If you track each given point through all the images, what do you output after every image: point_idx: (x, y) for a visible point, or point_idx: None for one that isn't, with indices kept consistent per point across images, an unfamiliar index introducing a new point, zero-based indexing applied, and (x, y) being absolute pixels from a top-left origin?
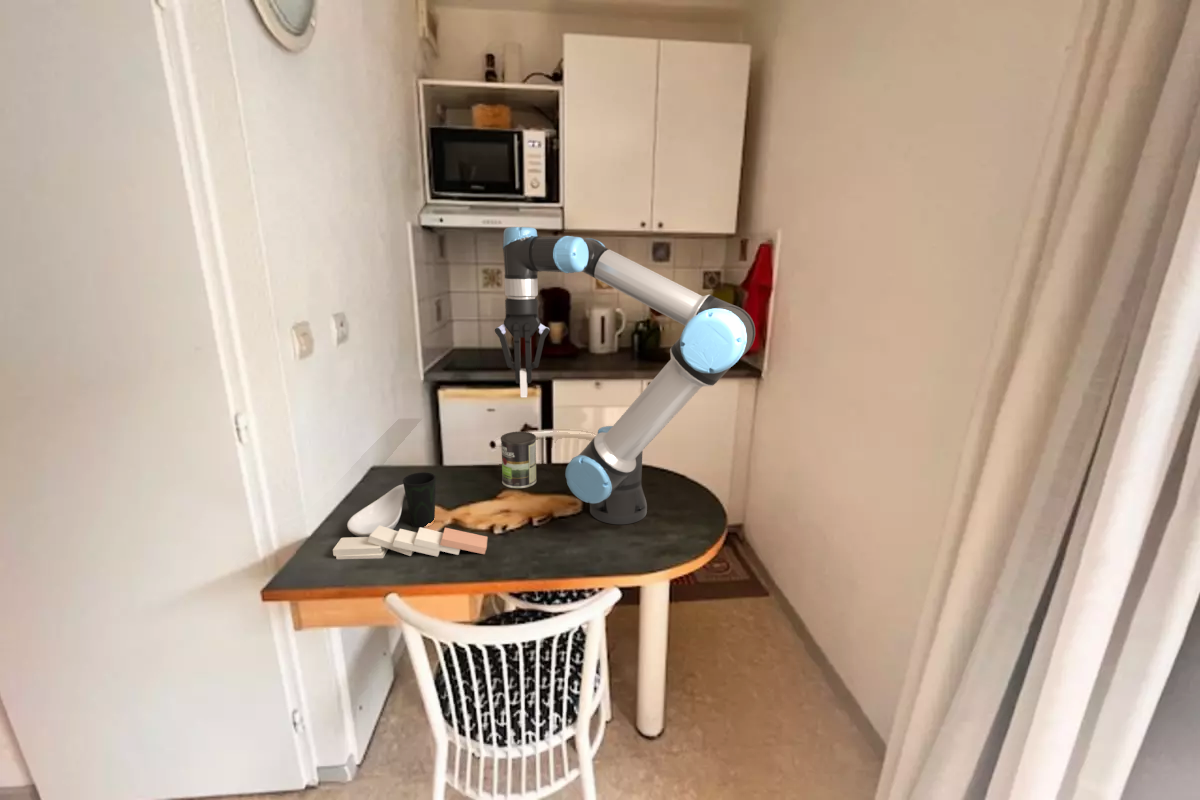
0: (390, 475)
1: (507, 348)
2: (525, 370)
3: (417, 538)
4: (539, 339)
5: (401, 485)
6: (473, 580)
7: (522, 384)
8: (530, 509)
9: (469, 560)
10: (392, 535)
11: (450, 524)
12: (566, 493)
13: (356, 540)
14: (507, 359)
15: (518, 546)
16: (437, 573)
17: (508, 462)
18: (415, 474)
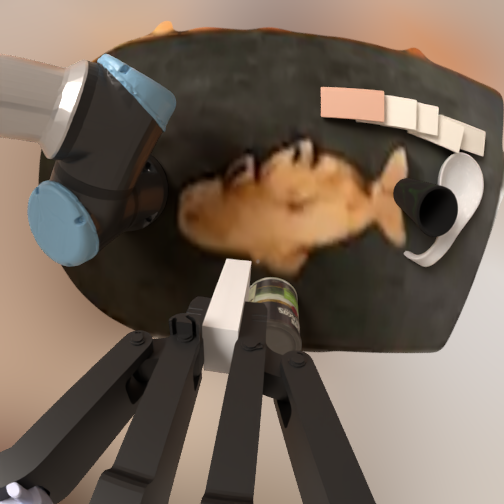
0: (431, 329)
1: (314, 456)
2: (206, 338)
3: (414, 100)
4: (43, 458)
5: (443, 250)
6: (330, 38)
7: (235, 287)
8: (256, 206)
9: (340, 79)
10: (441, 132)
11: (373, 179)
12: (200, 251)
13: (470, 144)
14: (312, 390)
15: (275, 100)
16: (375, 62)
17: (288, 305)
18: (442, 232)
